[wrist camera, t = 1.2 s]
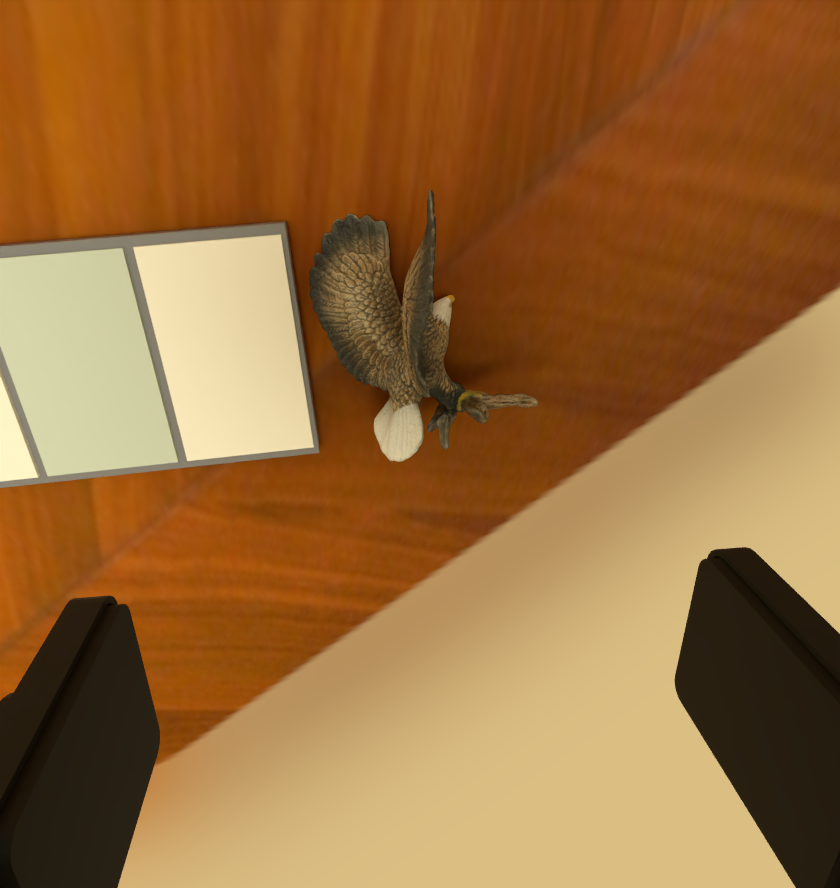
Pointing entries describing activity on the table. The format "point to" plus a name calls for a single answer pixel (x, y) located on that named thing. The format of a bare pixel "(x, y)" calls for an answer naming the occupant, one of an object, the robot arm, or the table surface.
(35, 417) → the game board
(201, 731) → the table surface
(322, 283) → the eagle figurine
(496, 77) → the table surface
